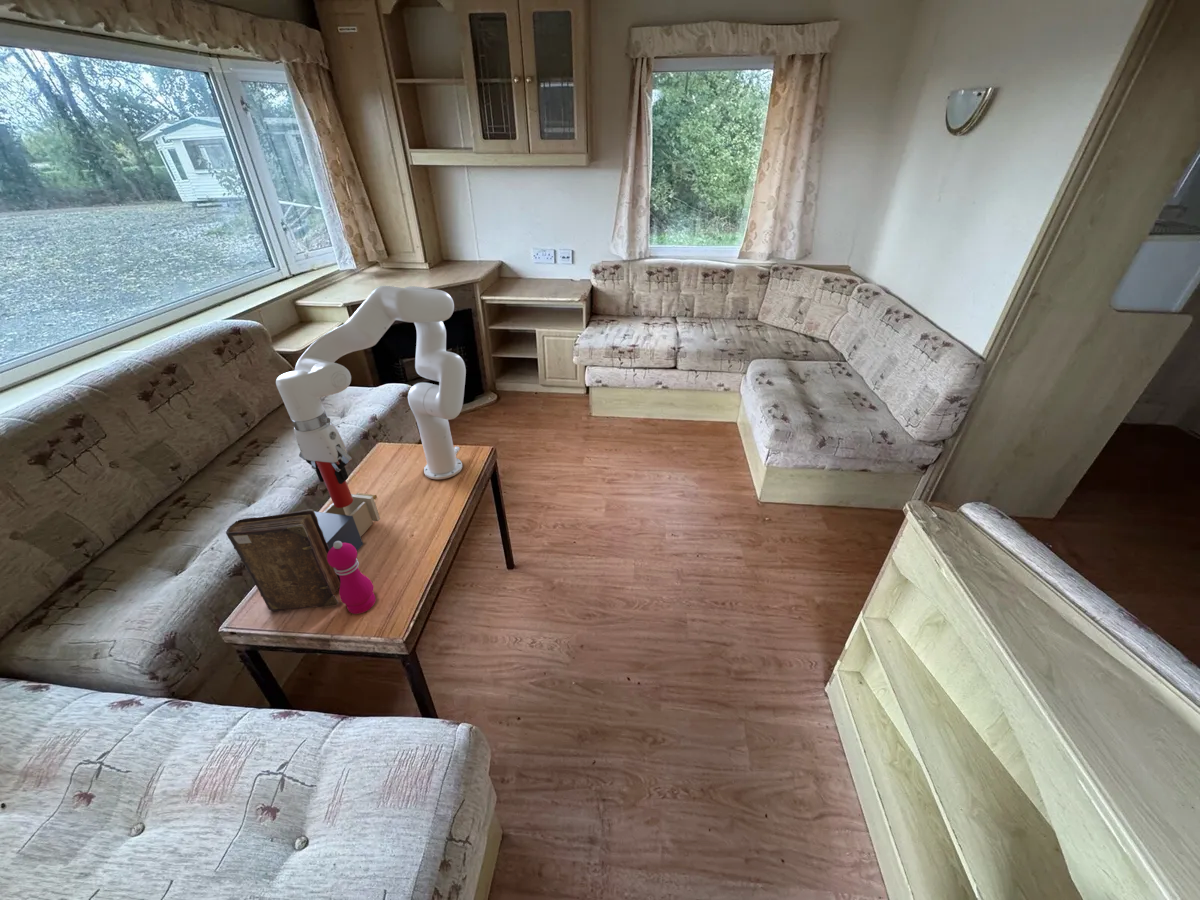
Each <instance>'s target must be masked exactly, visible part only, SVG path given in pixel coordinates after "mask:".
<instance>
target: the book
mask: <svg viewBox="0 0 1200 900" xmlns="http://www.w3.org/2000/svg"><path fill="white" fill-rule="evenodd" d="M314 511H315V510H314V509H312V508H311V509H302V510H298V511H292V512H286V513H281V514H274V515H267V516H259V517H254V516H253V517H247V518H241V519H238V520H236V521H235V522H233V523H232V524H231V525H229V527H228V528H227V529H226V531H225V534H226V537H227V538H228V540H229V541H230V543H231V544H232V546H233V549H234V551H236V553H237V554H238V556H239V558H240V561H241V562H242V564H243V565H244V567H245V569H246V570H247V573H248V574H249V576H250V577H251V580H252V581H253V584H254V586H255V587H256V588H257V591H258V592H259V593H260V597H261V598H262V599H263V601H264V603H265V605H266V607H267V610H269V611H272V612H279V611H280V612H281V611H282V612H283V611H284V612H285V611H288V610H298V609H306V608H326V607H335V606H338V605H339V601H338V600H337V598H336V595H335V594H336V592H337V591H338V590H339V589H340V583H341V582H340V576H339V575H338V574H336V573H335V570H334V568H333V567H331V566H330V565H329V563H328V561H327V554H328V552H329V550H330V549H329V547H328V545H327V543H326V540H325V538H324V535H323V532H322V530H321V528H320V526H319V523H318V519H317V517H316V515H315V512H316V511H315V512H314Z"/></svg>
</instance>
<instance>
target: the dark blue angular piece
mask: <svg viewBox="0 0 1200 900" xmlns="http://www.w3.org/2000/svg"><path fill="white" fill-rule="evenodd" d="M314 512H315V515H316V517H317V519H318V523H319V526H320V528H321V530H322V532H323V535H324V538H325V540H326V543H327V545H328V547H329V549H331V548H332V547H333V544H334V542H336V541H341V542H342V543H349V544H352V545H353V546H354V547H355V548H356V550H357V552H358V551H359V550H360V548H361V547H363V545H364V543H363V539H362V538H361V537H362V536H361V537H360V534H359V532H358V529H357V526H356V524H355V521H354V519H353V516H348V515H340V514H332V513H324V511H315V510H314Z"/></svg>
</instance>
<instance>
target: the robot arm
mask: <svg viewBox="0 0 1200 900" xmlns="http://www.w3.org/2000/svg"><path fill="white" fill-rule="evenodd" d="M454 312H455V302H454V299H453V297H452V296H451V295H450V294H449V293H448V292H446V291H445V290H441V289H436V288H429V287H423V286H415V285H413V286H412V285H410V286H405V287H398V286H393V285H392V286H391V285H380V286H378V287H376V288H374V289H373V290H372V291H371V292H370V294H368V295H367V297H366V299H364V300H363V302H362V303H361V304H360V305H359V306H358V308H357V309H356V310H355V311H354V312H353V314H352V315H350V317H349V318H348V319H347V320H346V321H345V322H344V323H343V324H341V325H338V326H336V327H335V328H333V329H331V330H330V331H328V332H326V333H325V334H323V335H321V336H319V337H318V338H317V339H315V341H313V342H312V343H311V344H310V345H309V346H308V347H307V349H305V351H304V352H303V353H302V354H301V356H300V357H299V358H298V360H297V362H296V363H295V367H294V370H291V371H287V372H284V373H282V374H280V375H278V376H277V377H276V380H275V386H276V389H277V390H278V393H279V395H280V398H281V399H282V402H283V404H284V407H285V409H286V411H287V413H288V416H289V418H290V421H291V423H292V425H293V432H294V437H295V440H296V444H297V446H298V449H299V453H298V457H299V458H301V459H302V460H304V461H305V462H306V463H308V464H309V465H310V466H311V468H312V470H315V473H316V475H317V478H318V480H319V482H320V483H324V480H323V478H322V475H321V473H320V471H319V468H318V466H317V463H316V461H319V462H330V463H331V464H332V466H333V467H334V469H335V470H336V471H335V475H336V478H337V480H338V483H339V484H342V483H343V482H344V481H346V482H347V480H348V479H349V475H348V472H347V469H346V466H347V464H348V463H350V461H352V460H353V458H352V457H351V455H350V454H349V453H348V450H347V447H346V445H345V443H344V440H343V439H342V436H341V434H340V432H339V431H338V429H337V427H336V426H335V425H334V423H333V422H332V421H331V418H330V417H329V416H328V415H327V412H326V409H325V407H324V404H323V402H322V399H321V398H324V397H328V396H333V395H336V394H339V393H342V392H343V391H345V390H347V388H349V386H350V384H351V383H352V375H351V372H350V370H349V369H348V368H347V367H345V365H342V364H340V363H337V362H336V361H338V359H340V358H342V357H343V356H345V355H348V354H351V353H353V352H357V351H362V350H366V349H369V348H372V347H374V346H376V345H377V344H378V343H379V341H380V340H381V338H383V337H384V335H385V334H386V332H387V331H388V330H389V329H390V328H391V326H392V325H393V324H394V323H395V321H399V322H405V323H413V324H414V326H415V330H416V343H415V345H416V346H415V359H414V368H415V372H416V374H418V376H420V377H422V378H424V379H426V380H431V381H434V382H438V384H435V383H434V384H433V383H430V382H423V381H422V382H417V383H415V384H413V385H412V386H411V387H410V389H409V391H408V394H407V403H408V406H409V408H410V410H411V412H412V415H413V416H414V419H415V422H416V425H417V430H418V432H419V437H420V441H421V444H422V450H423V452H424V453H423V454H424V457H425V461H426V464H425V466H424V467H423V474H424V476H425V477H426V478H428V479H432V480H445V479H449V478H452V477H454V476H456V475H458V474H459V473H460V472H461V471H462V469H463V461H462V460H461V459H459V458H457V455H458V453H459V451H460V450H461V448H460V447H459V446H457V445H455V446H454V442H453V437H452V433H451V427H450V422H449V420H454V419H456V418H457V417H458V416H459V415H460V413H461V411H462V409H463V405H464V397H465V385H466V376H467V375H466V374H467V369H466V363H465V361H464V359H463V358H462V356H460V355H459V354H458V353H455V352H452V351H447V329H446V326H445V324H444V322H445V321H447V320H449V319H450V318H451V317H452V315H453V313H454ZM337 461H338V462H339V465H338V464H337V463H336V462H337Z"/></svg>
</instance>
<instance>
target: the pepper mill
mask: <svg viewBox="0 0 1200 900" xmlns="http://www.w3.org/2000/svg"><path fill="white" fill-rule="evenodd" d="M327 561H328V563H329V565H330V566H331V567H333V568H334V570H335V573H336V574H338V575H339V576H340V582H341V583H340V589H338V594H339V595H338V596H339V598H340V601H341V602H342V603H343V604H344V605H345V606H346V609H347V611H348V612H349V613H351V614H353V615H354V614H355V615H358V614H359V615H360V614H363V613H366V612H367V611H369V610H370V609H372V608H373V606H374V605H375V603H376V600H377V599H376V595H375V593H374V584H373V582H372V580H371V578H369V577H368V576H366V575H365V574H363V573H362V572H361V570H360V568H359V565H360V562H359V559H358V551H357V550H356V548H355V547H354V546H353V545H352V544H349V543H342V542H341V541H336V542H334V544H333V547H332V548H331V549H330V550H329V552H328V554H327Z"/></svg>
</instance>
